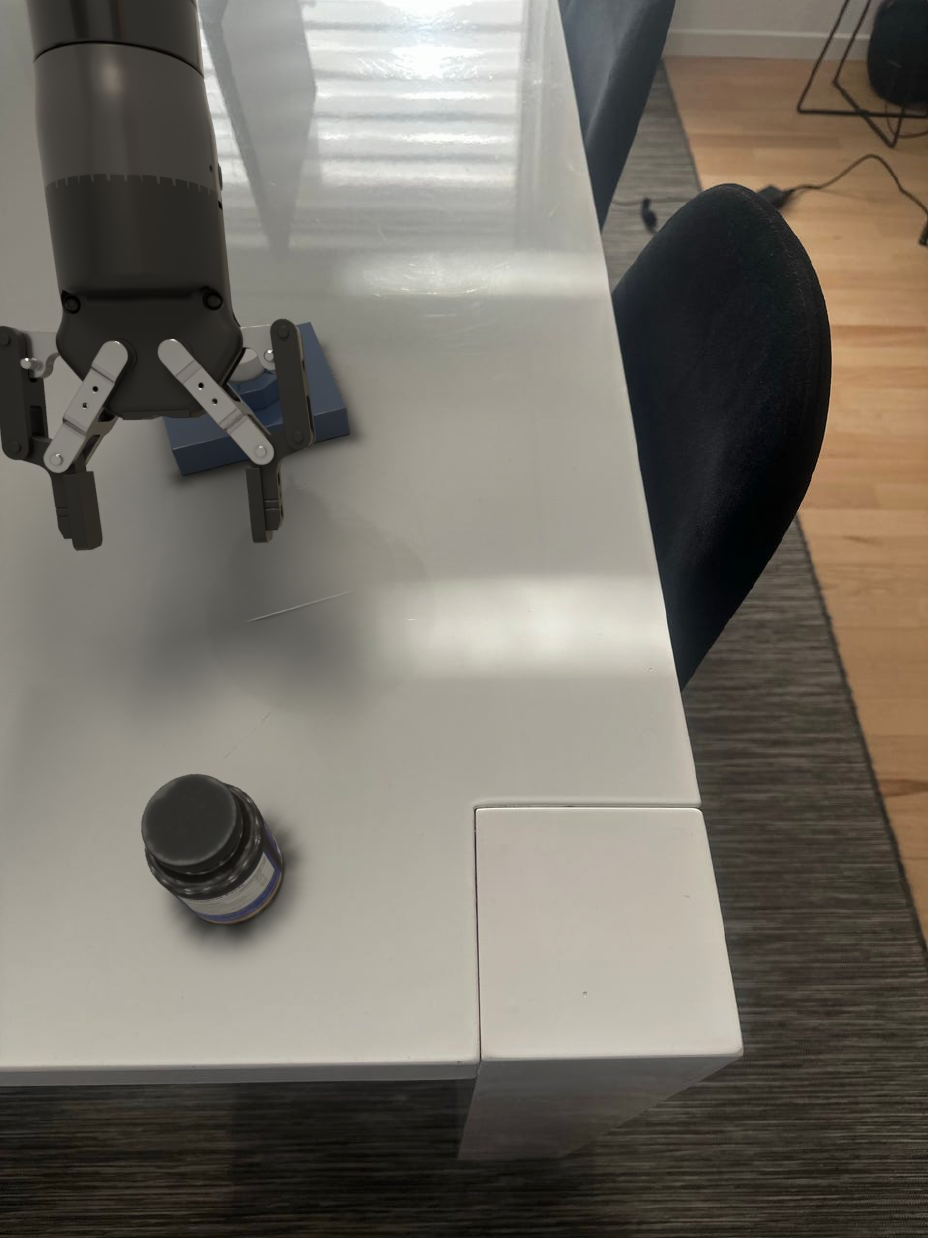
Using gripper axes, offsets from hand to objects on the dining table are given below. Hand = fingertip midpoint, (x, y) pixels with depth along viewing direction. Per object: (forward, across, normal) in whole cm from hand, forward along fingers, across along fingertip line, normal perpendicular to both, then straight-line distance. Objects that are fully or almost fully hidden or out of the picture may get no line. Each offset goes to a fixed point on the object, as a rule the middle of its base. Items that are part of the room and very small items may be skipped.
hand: (177, 544), depth 41 cm
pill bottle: (+21, 0, +4) cm, 21 cm away
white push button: (-10, -1, +29) cm, 30 cm away
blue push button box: (-7, -1, +32) cm, 33 cm away
